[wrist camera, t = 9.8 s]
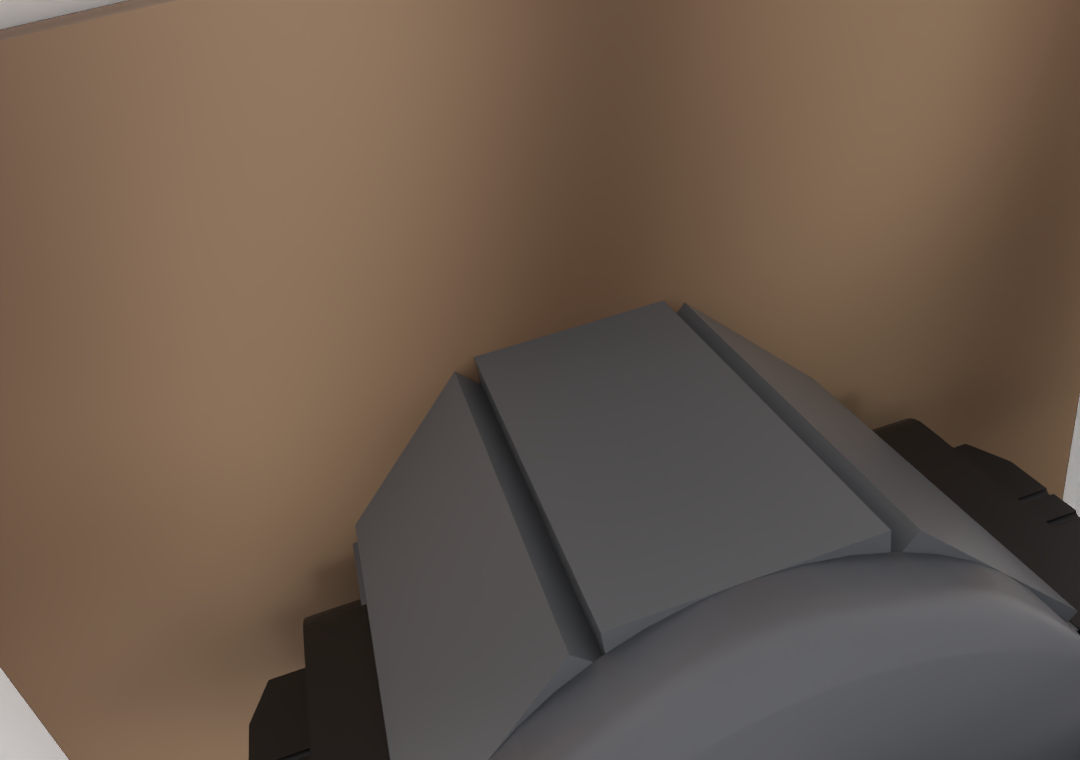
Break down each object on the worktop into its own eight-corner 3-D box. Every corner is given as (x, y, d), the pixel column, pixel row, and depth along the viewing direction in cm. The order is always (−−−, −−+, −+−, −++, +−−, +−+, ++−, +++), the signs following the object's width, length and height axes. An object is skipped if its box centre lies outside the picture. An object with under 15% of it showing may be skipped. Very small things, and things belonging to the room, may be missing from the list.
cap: (817, 254, 10) (1248, 533, 6) (824, 619, 13) (1106, 982, 9) (300, 408, 9) (336, 874, 5) (437, 760, 12) (534, 1239, 8)
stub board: (1083, -219, 10) (1664, -298, 6) (982, 653, 17) (1205, 888, 13) (-311, 101, 8) (-926, 324, 4) (254, 932, 15) (251, 1309, 11)
